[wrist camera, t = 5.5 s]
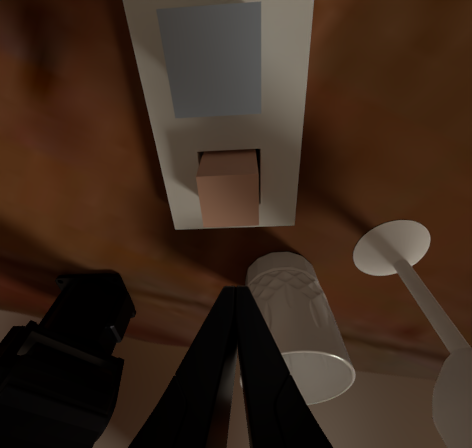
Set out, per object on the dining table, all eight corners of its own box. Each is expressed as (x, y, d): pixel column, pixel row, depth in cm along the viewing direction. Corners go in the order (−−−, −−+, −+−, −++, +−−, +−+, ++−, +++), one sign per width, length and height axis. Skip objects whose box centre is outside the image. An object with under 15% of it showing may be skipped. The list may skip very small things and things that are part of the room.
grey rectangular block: (193, 94, 15) (175, 118, 11) (182, 16, 13) (156, 9, 9) (255, 91, 15) (261, 113, 11) (254, 11, 13) (261, 1, 9)
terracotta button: (210, 189, 21) (203, 227, 17) (205, 145, 19) (195, 176, 15) (255, 187, 20) (258, 225, 16) (254, 143, 19) (258, 173, 14)
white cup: (223, 274, 27) (216, 380, 19) (286, 231, 24) (311, 335, 15) (273, 311, 30) (286, 414, 22) (335, 277, 27) (377, 384, 19)
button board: (181, 211, 23) (175, 229, 20) (77, -295, 10) (35, -380, 8) (289, 207, 22) (294, 225, 20) (326, -324, 9) (350, -422, 7)
